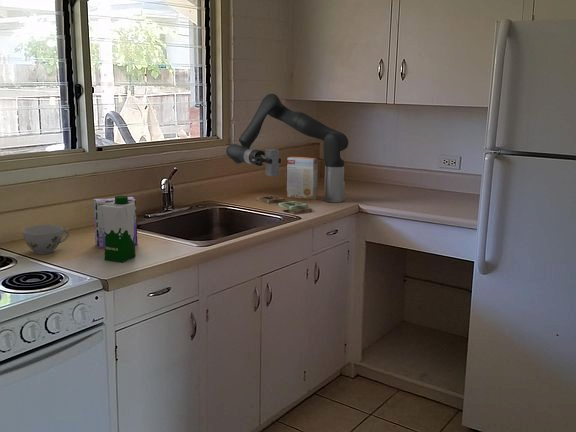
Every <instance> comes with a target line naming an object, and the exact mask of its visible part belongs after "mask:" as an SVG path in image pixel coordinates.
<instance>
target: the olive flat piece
mask: <svg viewBox="0 0 576 432" xmlns="http://www.w3.org/2000/svg"><path fill="white" fill-rule="evenodd" d="M255 201H257V202H260V203H263V204H266V205H267V204H268V205H271V206H275V207H278V208H281V209H284V210H281V212H284V213H288V214H291V215H299V214H305V213H311V212H313V211H312V207H309V204H308V203H304V202H300V201H297V200H294V201H293V200H291V201H286V199H285V197H281V196H277V195H266V196H265V195H264V196H257V197H256V199H255Z"/></svg>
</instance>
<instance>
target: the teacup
mask: <svg viewBox="0 0 576 432" xmlns="http://www.w3.org/2000/svg"><path fill="white" fill-rule="evenodd" d="M21 232H22V236H23V239H24V242H25V244H26V245H27V247H29V248H30V250H31V251H33V252H34V253H35V254H38V255H46V254H50V253H54V251H55V250H56V249H57V248H58V246H59V245H60V244H61V243H64V242H65V241H66V240H67V239H68V238H69V237H70V231H69V229H68V228H64V227H62V226H60V225H54V224H38V225H31V226H28V227H26V228H23V229H22V230H21ZM64 233H66V236H65V237H64V238H63V234H64Z"/></svg>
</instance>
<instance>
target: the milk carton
mask: <svg viewBox="0 0 576 432" xmlns="http://www.w3.org/2000/svg"><path fill="white" fill-rule="evenodd" d="M128 197H129V196H127V195H117V196H114V198H115V202H111V203H107V204H105V205H102V206H100V207H101V210H102V214H103V218H104V234H105V247H104V259H103V260H104V261H107V262H117V263H125V262H127V261H129V260H132V259H134V258H136V248H135V246H136V245H135V244H134V220H133V216H134V206H135V203H129V202H128Z"/></svg>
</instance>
